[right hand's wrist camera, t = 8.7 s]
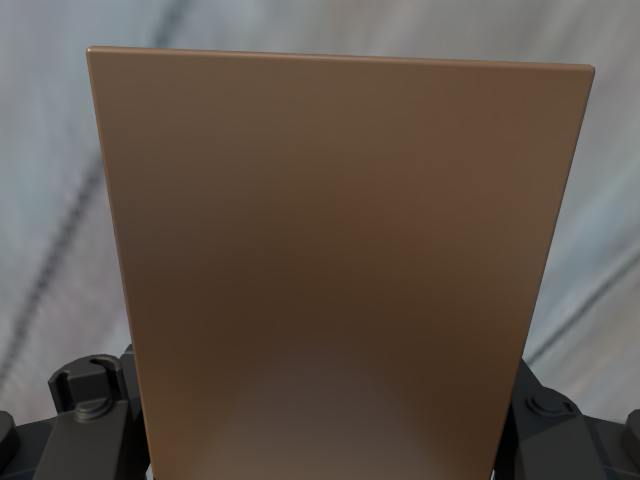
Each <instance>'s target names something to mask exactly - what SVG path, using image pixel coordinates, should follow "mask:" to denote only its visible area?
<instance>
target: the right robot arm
mask: <svg viewBox="0 0 640 480" xmlns="http://www.w3.org/2000/svg"><path fill="white" fill-rule="evenodd" d="M48 385H49V388H50V391H51V394H52V398H53V401H54V404H55V407H56V411H57V414H58V415H57V417H53V418H50V419H46V420H42V421H37V422H33V423H29V424H24V425H20V426H16V425H15V422H14V419H13V417H12V416H11V415H10V414H9V413H7V412H6V411H0V480H147V477H146V471H147V469H148V467H149V465H150V463H151V460H150V453H149V447H148V441H147V435H146V428H145V422H144V416H143V409H142V403H141V397H140V390H139V384H138V378H137V372H136V365H135V359H134V353H133V346H132V344H130V345H129V346H128V348H127V349H126V350H125V353H124V354H122V356H121V357H120V358H119V359H118V358H117V357H115V356H111V355H107V354H100V355H91V356H87V357H83V358H79V359H77V360H75V361H73V362H71V363H68V364H66V365H65V366H63V367H62V368H60V369H59V370H58V371H56V372H55V373H54V374H53V375H52V377H51V378H50V379H49V381H48ZM493 469H494V471H495V472H494V477H493V480H640V409H637V410H634V411H633V412H631V413H630V414H629V415H628V418H627V420H626V423H625V425H623V424H619V423H614V422H610V421H606V420H601V419H597V418H593V417H589V416H586V415H583V414H582V413H581V411H580V410H579V408H578V407H577V405H576V404H575V403H573V402H572V401H571V400H570V399H569V398H567V397H566V396H565V395H563V394H561V393H559V392H557V391H555V390H553V389H550V388H547V387H543V386H542V385H541V383H540V382H539V381H538V379H537V378H536V377H535V375H534V374H533V373H532V371H531V370H530V369H529V367H528V366H527V364H526V363H525V362H524V360H523V359H521V363H520V367H519V371H518V375H517V379H516V382H515V386H514V390H513V394H512V398H511V402H510V406H509V410H508V414H507V417H506V421H505V425H504V429H503V433H502V437H501V441H500V445H499V449H498V453H497V456H496V460H495V464H494V468H493Z"/></svg>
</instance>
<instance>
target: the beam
mask: <svg viewBox="0 0 640 480" xmlns="http://www.w3.org/2000/svg"><path fill="white" fill-rule="evenodd" d="M86 57H87V63H88V69H89V76H90V82H91V88H92V95H93V101H94V107H95V114H96V120H97V126H98V132H99V139H100V145H101V151H102V158H103V164H104V170H105V176H106V183H107V189H108V195H109V202H110V208H111V214H112V221H113V227H114V233H115V239H116V246H117V252H118V258H119V265H120V271H121V277H122V283H123V290H124V296H125V302H126V309H127V315H128V321H129V328H130V334H131V340H132V346H133V353H134V359H135V365H136V372H137V378H138V384H139V390H140V397H141V403H142V409H143V416H144V422H145V428H146V435H147V441H148V447H149V453H150V460H151V466H152V472H153V479H154V480H491V476H492V472H493V468H494V464H495V460H496V456H497V453H498V449H499V445H500V441H501V437H502V433H503V429H504V425H505V421H506V417H507V414H508V410H509V406H510V402H511V398H512V394H513V390H514V386H515V382H516V379H517V375H518V371H519V367H520V363H521V359H522V355H523V351H524V347H525V344H526V340H527V336H528V332H529V328H530V324H531V320H532V316H533V312H534V308H535V305H536V301H537V297H538V293H539V289H540V285H541V281H542V277H543V273H544V270H545V266H546V262H547V258H548V254H549V250H550V246H551V242H552V238H553V235H554V231H555V227H556V223H557V219H558V215H559V211H560V207H561V203H562V199H563V196H564V192H565V188H566V184H567V180H568V176H569V172H570V168H571V164H572V161H573V157H574V153H575V149H576V145H577V141H578V137H579V133H580V129H581V126H582V122H583V118H584V114H585V110H586V106H587V102H588V98H589V94H590V90H591V87H592V83H593V79H594V75H595V68H594V67H592V66H591V65H586V64H559V63H533V62H507V61H480V60H454V59H427V58H401V57H375V56H348V55H322V54H296V53H269V52H243V51H216V50H190V49H164V48H137V47H111V46H91V47H89V48H87V49H86Z"/></svg>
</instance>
